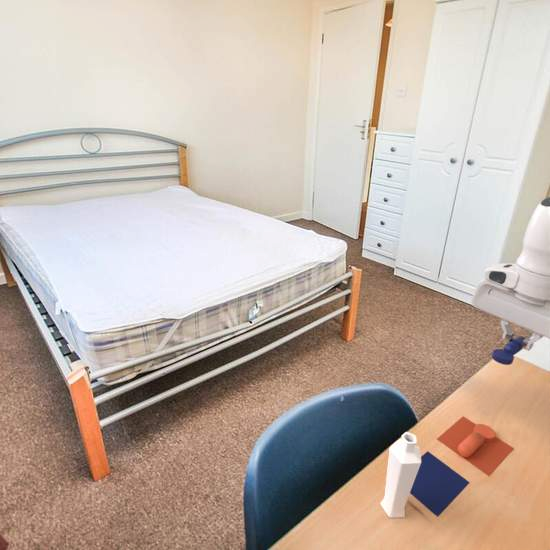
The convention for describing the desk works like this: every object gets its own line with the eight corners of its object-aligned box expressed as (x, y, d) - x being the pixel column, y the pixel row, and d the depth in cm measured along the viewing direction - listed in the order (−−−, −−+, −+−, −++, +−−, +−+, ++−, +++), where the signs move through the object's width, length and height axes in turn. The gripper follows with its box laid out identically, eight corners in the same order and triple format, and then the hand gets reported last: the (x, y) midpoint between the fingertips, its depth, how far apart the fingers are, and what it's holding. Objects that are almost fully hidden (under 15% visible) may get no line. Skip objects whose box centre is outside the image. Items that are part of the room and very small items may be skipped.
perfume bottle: (415, 515, 60) (434, 445, 54) (392, 525, 58) (408, 454, 52) (396, 489, 64) (412, 422, 58) (374, 498, 62) (388, 429, 56)
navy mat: (427, 453, 71) (427, 450, 70) (469, 484, 65) (469, 482, 65) (394, 482, 65) (394, 479, 65) (436, 519, 59) (437, 516, 59)
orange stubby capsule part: (469, 464, 68) (472, 455, 67) (450, 451, 70) (453, 441, 69) (497, 436, 74) (500, 427, 73) (478, 425, 76) (481, 416, 76)
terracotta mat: (462, 418, 79) (463, 416, 79) (513, 450, 72) (514, 448, 72) (435, 441, 73) (436, 438, 73) (488, 478, 66) (489, 476, 66)
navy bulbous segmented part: (512, 341, 81) (515, 331, 80) (530, 349, 78) (534, 339, 77) (488, 357, 75) (491, 347, 74) (507, 367, 72) (510, 356, 71)
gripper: (611, 299, 66) (582, 365, 71) (491, 261, 80) (475, 318, 86) (600, 309, 62) (570, 377, 68) (477, 267, 77) (460, 326, 82)
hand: (516, 343), depth 77 cm, fingers closed on navy bulbous segmented part, 2 cm apart
